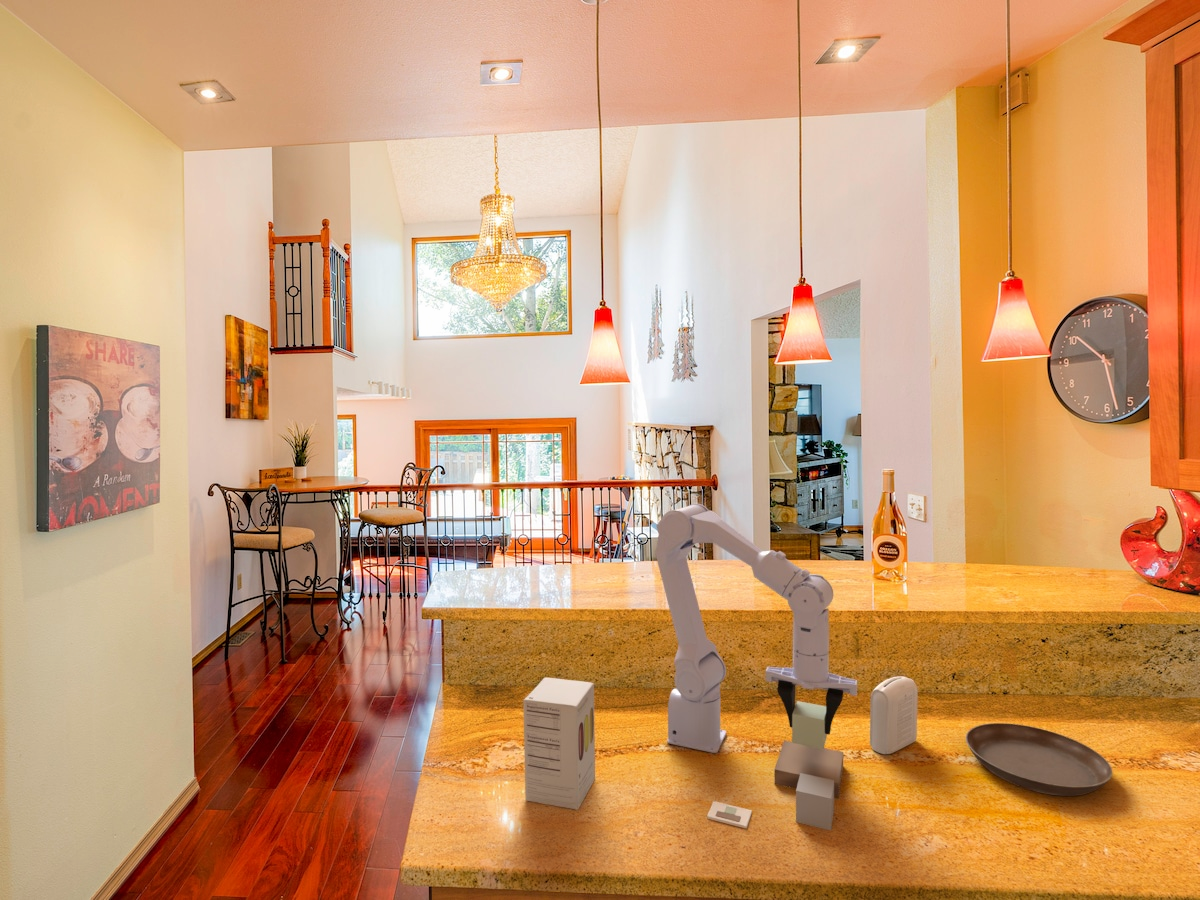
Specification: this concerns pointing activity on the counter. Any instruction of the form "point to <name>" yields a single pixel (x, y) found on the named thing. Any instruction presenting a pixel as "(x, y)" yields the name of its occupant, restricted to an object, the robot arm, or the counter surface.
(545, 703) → the supplement box
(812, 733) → the sage cube
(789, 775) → the walnut slab
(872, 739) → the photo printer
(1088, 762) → the plant saucer
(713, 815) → the card
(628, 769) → the counter surface
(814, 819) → the grey cube
